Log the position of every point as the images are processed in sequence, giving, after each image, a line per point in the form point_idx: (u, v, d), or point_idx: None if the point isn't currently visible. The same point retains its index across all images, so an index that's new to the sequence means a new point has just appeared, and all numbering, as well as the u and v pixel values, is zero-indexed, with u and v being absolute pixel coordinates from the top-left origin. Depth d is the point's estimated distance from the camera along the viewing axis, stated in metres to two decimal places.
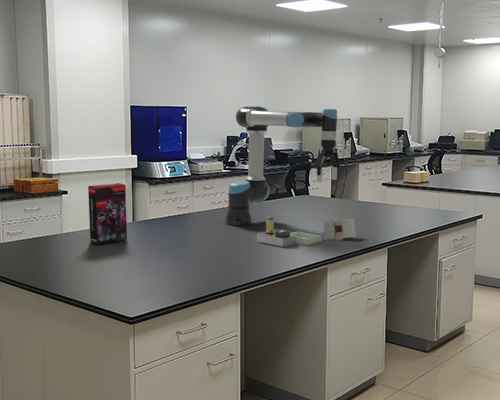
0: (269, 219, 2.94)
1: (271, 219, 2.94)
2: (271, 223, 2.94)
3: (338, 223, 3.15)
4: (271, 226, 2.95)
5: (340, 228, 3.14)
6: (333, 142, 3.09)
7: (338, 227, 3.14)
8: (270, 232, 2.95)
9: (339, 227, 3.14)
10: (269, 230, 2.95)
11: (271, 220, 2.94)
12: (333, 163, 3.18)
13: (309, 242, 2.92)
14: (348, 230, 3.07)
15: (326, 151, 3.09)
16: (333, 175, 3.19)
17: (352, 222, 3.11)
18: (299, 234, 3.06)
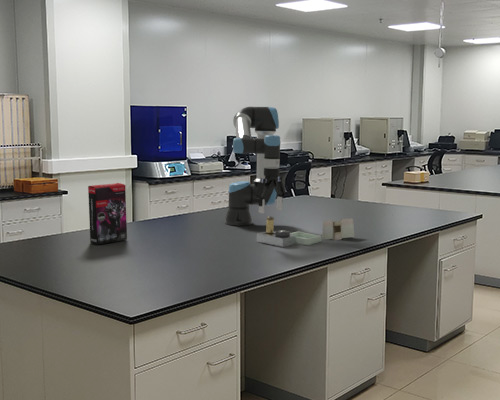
0: (269, 219, 2.94)
1: (271, 219, 2.94)
2: (271, 223, 2.94)
3: (337, 223, 3.15)
4: (271, 226, 2.95)
5: (339, 228, 3.14)
6: (276, 171, 2.89)
7: (337, 227, 3.14)
8: (270, 232, 2.95)
9: (338, 227, 3.14)
10: (269, 230, 2.95)
11: (271, 220, 2.94)
12: (278, 192, 2.98)
13: (309, 242, 2.92)
14: (347, 230, 3.07)
15: (268, 180, 2.90)
16: (278, 205, 2.99)
17: (351, 222, 3.11)
18: (299, 234, 3.06)
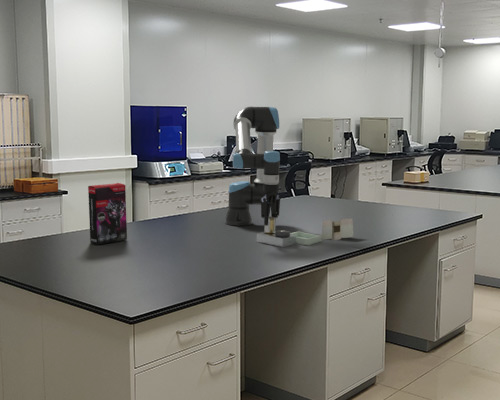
0: None
1: (271, 219, 2.94)
2: (271, 223, 2.94)
3: (337, 223, 3.15)
4: (271, 226, 2.95)
5: (339, 228, 3.14)
6: (275, 187, 2.90)
7: (337, 227, 3.14)
8: (270, 232, 2.95)
9: (337, 227, 3.14)
10: None
11: (271, 220, 2.94)
12: (272, 211, 2.97)
13: (309, 242, 2.92)
14: (346, 230, 3.07)
15: (268, 196, 2.91)
16: None
17: (350, 222, 3.11)
18: (299, 234, 3.06)
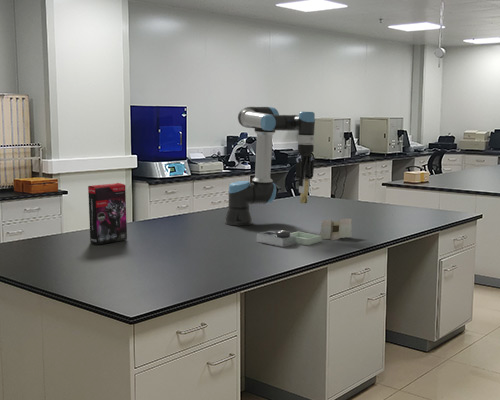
0: None
1: (306, 180, 2.93)
2: (306, 184, 2.93)
3: (336, 223, 3.14)
4: (306, 187, 2.94)
5: (338, 228, 3.14)
6: (310, 147, 2.89)
7: (336, 227, 3.14)
8: (305, 193, 2.94)
9: (336, 227, 3.14)
10: (304, 191, 2.94)
11: (306, 181, 2.93)
12: (307, 173, 2.96)
13: (309, 242, 2.92)
14: (344, 230, 3.07)
15: (303, 156, 2.90)
16: None
17: (349, 222, 3.11)
18: (299, 234, 3.06)
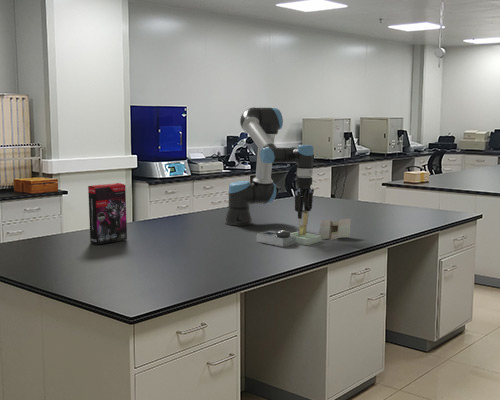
0: None
1: (305, 212, 2.95)
2: (304, 216, 2.96)
3: (335, 223, 3.15)
4: (304, 219, 2.96)
5: (337, 228, 3.14)
6: (309, 180, 2.92)
7: (335, 227, 3.14)
8: (304, 225, 2.96)
9: (335, 227, 3.14)
10: None
11: (304, 213, 2.95)
12: (305, 205, 2.98)
13: (309, 242, 2.92)
14: (343, 230, 3.07)
15: (302, 189, 2.92)
16: None
17: (348, 222, 3.10)
18: None
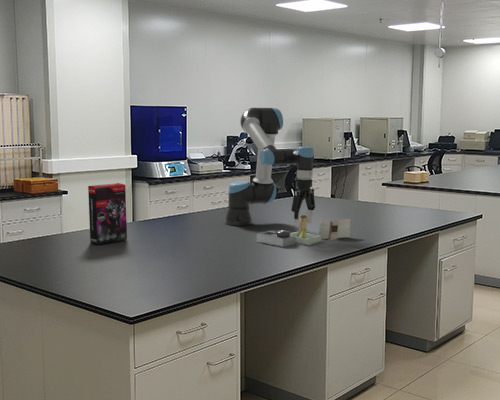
0: (302, 217, 2.96)
1: (304, 217, 2.96)
2: (304, 221, 2.96)
3: (335, 223, 3.15)
4: (304, 224, 2.96)
5: (337, 228, 3.14)
6: (309, 182, 2.92)
7: (335, 227, 3.14)
8: (303, 230, 2.97)
9: (335, 227, 3.14)
10: (302, 228, 2.97)
11: (304, 218, 2.96)
12: (308, 205, 3.00)
13: (309, 242, 2.92)
14: (343, 230, 3.07)
15: (302, 191, 2.92)
16: (308, 218, 3.01)
17: (348, 222, 3.10)
18: None
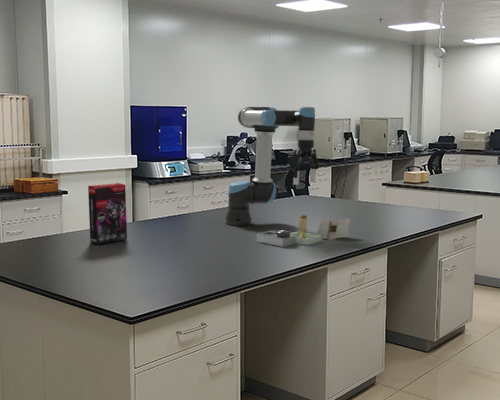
0: (302, 217, 2.96)
1: (304, 217, 2.96)
2: (304, 221, 2.96)
3: (334, 223, 3.15)
4: (304, 224, 2.96)
5: (336, 228, 3.14)
6: (311, 142, 2.89)
7: (334, 227, 3.14)
8: (303, 230, 2.97)
9: (334, 227, 3.14)
10: (302, 228, 2.97)
11: (304, 218, 2.96)
12: (311, 165, 2.98)
13: (309, 242, 2.92)
14: (341, 230, 3.06)
15: (303, 152, 2.90)
16: (311, 177, 2.99)
17: (347, 222, 3.10)
18: None
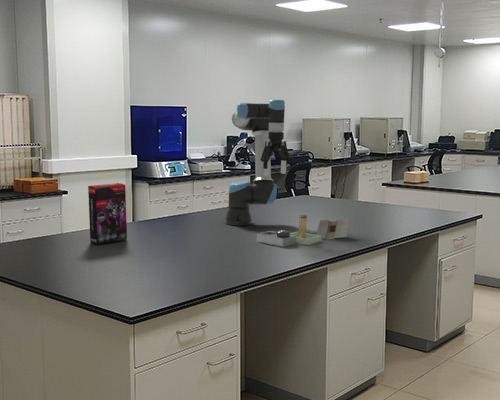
0: (302, 217, 2.96)
1: (304, 217, 2.96)
2: (304, 221, 2.96)
3: (333, 223, 3.14)
4: (304, 224, 2.96)
5: (335, 228, 3.14)
6: (280, 134, 2.96)
7: (333, 227, 3.14)
8: (303, 230, 2.97)
9: (334, 227, 3.14)
10: (302, 228, 2.97)
11: (304, 218, 2.96)
12: (282, 156, 3.06)
13: (309, 242, 2.92)
14: (340, 230, 3.06)
15: (273, 144, 2.97)
16: (282, 169, 3.07)
17: (346, 222, 3.10)
18: None
